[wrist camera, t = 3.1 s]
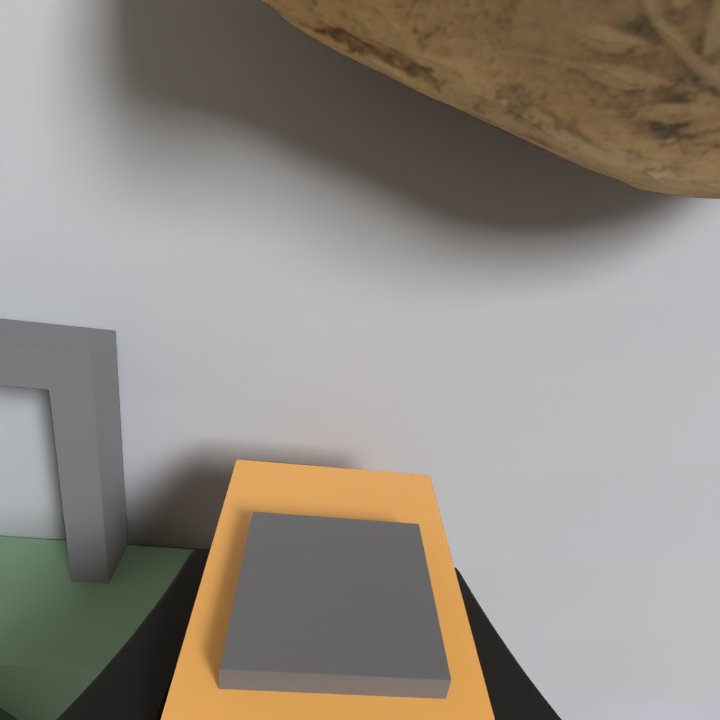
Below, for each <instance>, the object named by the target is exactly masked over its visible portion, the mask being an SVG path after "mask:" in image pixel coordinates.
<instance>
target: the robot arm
mask: <svg viewBox="0 0 720 720" xmlns="http://www.w3.org/2000/svg"><path fill="white" fill-rule="evenodd" d="M209 553H210V550H194V551H193V552H191V553H190V555H189V556H188V558H187V560H186V561H185V563H184V565H183V566H182V568H181V569H180V571H179V572H178V574H177V575H176V577H175V578H174V580H173V581H172V583H171V584H170V586H169V587H168V589H167V590H166V591H165V593H164V594H163V596H162V597H161V598H160V600H159V601H158V603H157V604H156V605H155V607H154V608H153V609H152V610H151V612H150V613H149V614H148V616H147V617H146V618H145V620H144V621H143V622H142V624H141V625H140V626H139V627H138V629H137V630H136V631H135V633H134V634H133V635H132V636H131V637H130V639H129V640H128V641H127V642H126V643H125V645H124V646H123V647H122V648H121V649H120V650H119V652H118V653H117V654H116V655H115V656H114V658H113V659H112V660H111V661H110V662H109V663H108V665H107V666H106V667H105V668H104V669H103V670H102V672H101V673H100V674H99V675H98V676H97V677H96V678H95V679H94V680H93V681H92V683H91V684H90V685H89V686H88V687H87V688H86V689H85V690H84V691H83V692H82V693H81V694H80V696H79V697H78V698H77V699H76V700H75V701H74V702H73V703H72V704H71V705H70V706H69V707H68V708H67V709H66V710H65V711H64V712H63V713H62V714H61V715H60V716H59V717H58V718H57V719H56V720H161V717H162V713H163V710H164V707H165V703H166V700H167V696H168V693H169V689H170V686H171V683H172V679H173V676H174V672H175V669H176V666H177V662H178V659H179V655H180V652H181V648H182V645H183V642H184V638H185V635H186V631H187V628H188V624H189V621H190V618H191V614H192V611H193V607H194V604H195V600H196V597H197V594H198V590H199V587H200V583H201V580H202V577H203V573H204V570H205V566H206V563H207V559H208V556H209ZM455 572H456V576H457V580H458V583H459V587H460V591H461V595H462V598H463V602H464V606H465V610H466V613H467V617H468V621H469V625H470V628H471V632H472V636H473V640H474V643H475V647H476V651H477V655H478V658H479V662H480V666H481V670H482V673H483V677H484V681H485V685H486V688H487V692H488V696H489V700H490V703H491V707H492V711H493V714H494V718H495V720H561V718H560V717H559V716H558V715H557V714H556V712H555V711H554V710H553V709H552V707H551V706H550V705H549V704H548V702H547V701H546V700H545V698H544V697H543V696H542V695H541V693H540V692H539V691H538V689H537V688H536V687H535V685H534V684H533V683H532V681H531V680H530V679H529V677H528V676H527V675H526V673H525V672H524V671H523V669H522V668H521V666H520V665H519V664H518V662H517V661H516V659H515V658H514V657H513V655H512V654H511V652H510V651H509V649H508V648H507V646H506V645H505V643H504V642H503V641H502V639H501V638H500V636H499V635H498V633H497V632H496V630H495V629H494V627H493V626H492V624H491V623H490V621H489V619H488V618H487V616H486V615H485V613H484V612H483V610H482V608H481V607H480V605H479V604H478V602H477V600H476V599H475V597H474V595H473V594H472V592H471V590H470V589H469V587H468V585H467V584H466V582H465V580H464V579H463V577H462V575H461V574H460V572H459V571H458V570H457V568H455Z"/></svg>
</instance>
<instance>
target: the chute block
mask: <svg viewBox="0 0 720 720" xmlns="http://www.w3.org/2000/svg"><path fill="white" fill-rule="evenodd" d="M161 720H495V718H494V714H493V711H492V707H491V703H490V700H489V696H488V692H487V688H486V685H485V681H484V677H483V673H482V670H481V666H480V662H479V658H478V655H477V651H476V647H475V643H474V640H473V636H472V632H471V628H470V625H469V621H468V617H467V613H466V610H465V606H464V602H463V598H462V595H461V591H460V587H459V583H458V580H457V576H456V572H455V568H454V565H453V561H452V557H451V553H450V550H449V546H448V542H447V538H446V535H445V531H444V527H443V523H442V520H441V516H440V512H439V508H438V505H437V501H436V497H435V493H434V490H433V486H432V482H431V478H430V475H418V474H406V473H394V472H382V471H370V470H357V469H345V468H333V467H321V466H309V465H297V464H285V463H273V462H261V461H248V460H236V464H235V467H234V470H233V474H232V477H231V481H230V484H229V488H228V491H227V494H226V498H225V501H224V505H223V508H222V511H221V515H220V518H219V522H218V525H217V529H216V532H215V535H214V539H213V542H212V546H211V549H210V553H209V556H208V559H207V563H206V566H205V570H204V573H203V577H202V580H201V583H200V587H199V590H198V594H197V597H196V600H195V604H194V607H193V611H192V614H191V618H190V621H189V624H188V628H187V631H186V635H185V638H184V642H183V645H182V648H181V652H180V655H179V659H178V662H177V666H176V669H175V672H174V676H173V679H172V683H171V686H170V689H169V693H168V696H167V700H166V703H165V707H164V710H163V713H162V717H161Z"/></svg>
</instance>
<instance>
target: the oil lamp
mask: <svg viewBox="0 0 720 720" xmlns="http://www.w3.org/2000/svg"><path fill="white" fill-rule="evenodd" d="M260 1H262V2H264V3H265V4H267V5H268V6H270V7H271V8H272V9H273V10H274V11H275V12H277V13H278V14H279V15H280V16H281V17H283V18H284V19H285V20H286V21H287V22H288V23H290V24H291V25H292V26H294V27H296V28H298V29H299V30H301V31H303V32H304V33H306V34H308V35H310V36H311V37H313V38H315V39H316V40H318V41H320V42H322V43H323V44H325V45H327V46H328V47H330V48H332V49H334V50H335V51H337V52H339V53H340V54H342V55H344V56H347V57H349V58H351V59H353V60H355V61H357V62H359V63H361V64H363V65H365V66H368V67H370V68H372V69H374V70H376V71H378V72H380V73H382V74H384V75H386V76H388V77H390V78H392V79H394V80H396V81H398V82H400V83H402V84H404V85H406V86H408V87H410V88H412V89H414V90H416V91H418V92H420V93H422V94H424V95H426V96H428V97H431V98H433V99H435V100H438V101H440V102H443V103H445V104H448V105H450V106H453V107H455V108H457V109H459V110H461V111H464V112H466V113H468V114H470V115H472V116H474V117H476V118H479V119H481V120H483V121H485V122H487V123H489V124H492V125H494V126H496V127H498V128H500V129H502V130H505V131H507V132H509V133H511V134H513V135H515V136H518V137H520V138H522V139H524V140H526V141H528V142H530V143H533V144H535V145H537V146H539V147H541V148H543V149H545V150H547V151H549V152H551V153H553V154H555V155H557V156H559V157H561V158H564V159H566V160H568V161H571V162H573V163H575V164H577V165H580V166H582V167H584V168H587V169H589V170H592V171H594V172H597V173H600V174H603V175H606V176H609V177H613V178H616V179H618V180H620V181H622V182H624V183H626V184H628V185H630V186H632V187H635V188H638V189H641V190H646V191H652V192H658V193H664V194H671V195H678V196H685V197H695V198H715V199H720V0H260Z"/></svg>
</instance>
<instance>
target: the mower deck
mask: <svg viewBox="0 0 720 720" xmlns="http://www.w3.org/2000/svg"><path fill="white" fill-rule="evenodd" d="M0 385H4V386H15V387H26V388H37V389H47V390H49V395H50V404H51V412H52V421H53V429H54V438H55V446H56V455H57V464H58V472H59V481H60V489H61V498H62V506H63V515H64V524H65V532H66V541H65V540H50V539H36V538H21V537H7V536H0V720H56V719H57V718H58V717H59V716H60V715H61V714H62V713H63V712H64V711H65V710H66V709H67V708H68V707H69V706H70V705H71V704H72V703H73V702H74V701H75V700H76V699H77V698H78V697H79V696H80V694H81V693H82V692H83V691H84V690H85V689H86V688H87V687H88V686H89V685H90V684H91V683H92V681H93V680H94V679H95V678H96V677H97V676H98V675H99V674H100V673H101V672H102V670H103V669H104V668H105V667H106V666H107V665H108V663H109V662H110V661H111V660H112V659H113V658H114V656H115V655H116V654H117V653H118V652H119V650H120V649H121V648H122V647H123V646H124V645H125V643H126V642H127V641H128V640H129V639H130V637H131V636H132V635H133V634H134V633H135V631H136V630H137V629H138V627H139V626H140V625H141V624H142V622H143V621H144V620H145V618H146V617H147V616H148V614H149V613H150V612H151V610H152V609H153V608H154V607H155V605H156V604H157V603H158V601H159V600H160V598H161V597H162V596H163V594H164V593H165V591H166V590H167V589H168V587H169V586H170V584H171V583H172V581H173V580H174V578H175V577H176V575H177V574H178V572H179V571H180V569H181V568H182V566H183V565H184V563H185V561H186V560H187V558H188V556H189V555H190V553H191V552H193V551H194V550H195V549H180V548H166V547H151V546H137V545H128V542H127V524H126V507H125V489H124V472H123V455H122V437H121V420H120V402H119V385H118V368H117V350H116V333H115V331H112V330H103V329H93V328H83V327H74V326H64V325H54V324H45V323H35V322H25V321H16V320H6V319H0Z"/></svg>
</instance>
